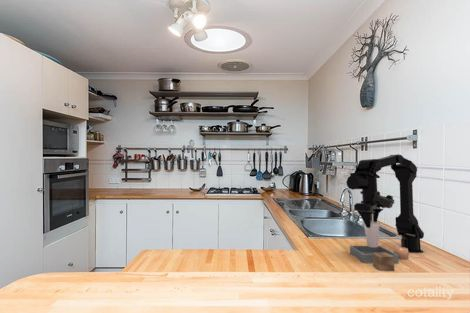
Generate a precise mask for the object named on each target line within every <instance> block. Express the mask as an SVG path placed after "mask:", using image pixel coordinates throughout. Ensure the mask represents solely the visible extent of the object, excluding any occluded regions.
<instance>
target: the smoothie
mask: <svg viewBox="0 0 470 313" xmlns="http://www.w3.org/2000/svg"><path fill="white" fill-rule="evenodd" d="M362 225H363V228H364V233H365V238H366V246H369V247H378V246H379V234H380V226H381V223H380V222H378V221H377V222H374V221H373V214H372V221H371V224H370V228H367V227H366V225H365V223H364V221H362Z"/></svg>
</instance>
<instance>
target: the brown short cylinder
mask: <svg viewBox="0 0 470 313" xmlns="http://www.w3.org/2000/svg"><path fill="white" fill-rule="evenodd" d="M393 253H395V254H397V255H398V259H399V260H402V261H403V260H404V261H405V260H406V261H407V260H409V258H410V257H409V252H408V248H405V247H401V245H400V246H399V245H398V246H393Z"/></svg>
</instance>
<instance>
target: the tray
mask: <svg viewBox="0 0 470 313" xmlns="http://www.w3.org/2000/svg"><path fill="white" fill-rule="evenodd" d="M372 253H387V254H389V255H391V256H393V257H394V265H395V264H397V265H398V264H400V262H399V261H400V259H398V255H397V254H395V253H394V251H392V250H389V249H387V248H385V247H383V246H381V245H378V247H369V246H368V245H349V254H351V255H353V257H354V258H356V259H357V260H359V261H360V262H362V263H363V264H373V256H372Z"/></svg>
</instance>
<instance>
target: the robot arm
mask: <svg viewBox="0 0 470 313" xmlns="http://www.w3.org/2000/svg"><path fill="white" fill-rule="evenodd" d="M389 166H390V169H391V170H392V171H393V172H394V176H395V178H396V179H397V181H398V182H399V207H400V208H399V210H400V213H399V214H398V216H396V217H395V228H396V232H397V235H398V236H401V238H400V247H405V248H408V253H424V250H422V249H421V240H422V239H423V238H424V235H425V232H424V231H423V230H422V229H421V227H420V225H419V220H418V219H417V217H416V216H415V214H414V198H413V196H414V195H413V194H414V193H413V189H414V188H413V182H414V180H415V179H416V178H417V173H418V167H417V165H416V164H415V163H414V162H413V161H411V160H409V159H408V158H405V156H403V155H402V154H399V153H398V154H390V155H388V156H384V157H381V158H370V159H360V160H359V161H358V164H357V166H356V168H355V170H354V172H350V173H349V176H348V177H347V180H346V186H347V188H349V189H350V190H360V195H361V194H362V195H361V196H362V200H361V201H360V202H357V203H355V204H354V205H353V210H354V211H357V212H358V214H359V216H360V217H361V219H362V222H364V223H365V225H366V227H367V228H370V224H371V221H372V214H373V221H374V222H378V219H379V215H380V213H381V212H382V211H384V209H392V208H393V206H394V204H395V199H394V197H393V195H391V194H388V195H386V196H384V195H381V192H380V191H378V179H380V177H381V176H380V175H379V174H378V172H380V171H381V170H382V169H383V168H386V167H389Z"/></svg>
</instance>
